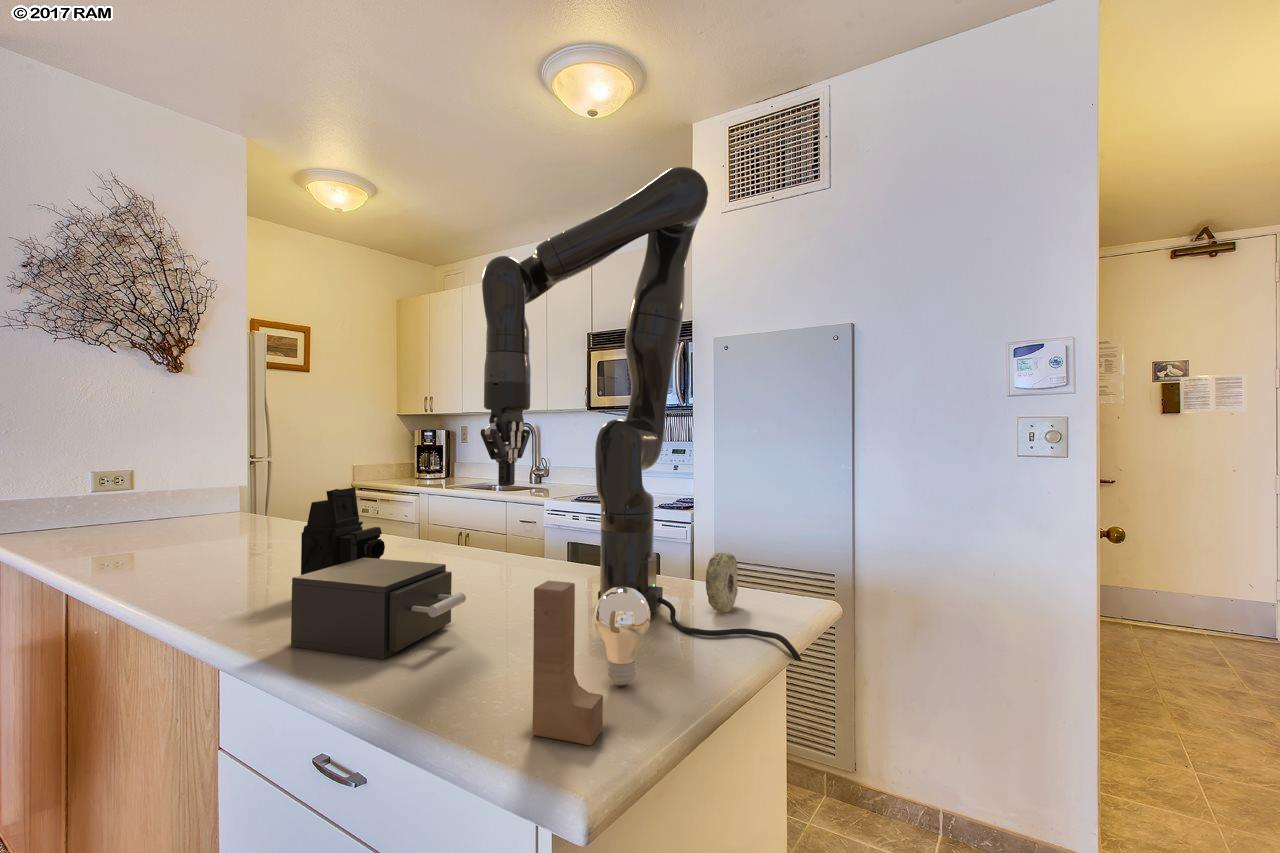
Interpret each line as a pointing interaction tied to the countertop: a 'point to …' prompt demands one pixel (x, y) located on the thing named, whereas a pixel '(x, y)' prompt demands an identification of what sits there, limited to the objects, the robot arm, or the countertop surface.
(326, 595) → the dark drawer cabinet
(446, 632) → the countertop surface
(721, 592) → the stone ring
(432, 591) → the pull-out drawer
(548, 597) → the wooden block
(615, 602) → the light bulb
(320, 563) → the camera
